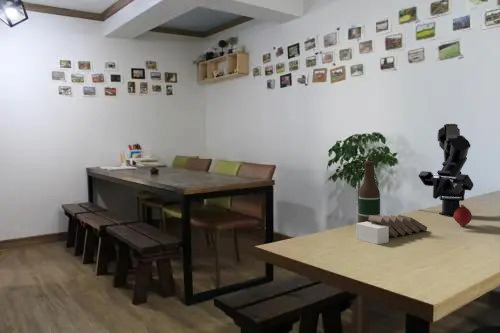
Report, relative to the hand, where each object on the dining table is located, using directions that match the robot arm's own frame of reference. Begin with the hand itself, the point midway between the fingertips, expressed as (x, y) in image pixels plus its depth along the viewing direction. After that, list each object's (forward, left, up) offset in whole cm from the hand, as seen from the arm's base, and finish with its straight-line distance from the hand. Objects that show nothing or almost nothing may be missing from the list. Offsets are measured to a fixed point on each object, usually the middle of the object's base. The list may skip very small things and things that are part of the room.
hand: (434, 198), depth 149 cm
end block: (+10, -30, -11) cm, 34 cm away
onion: (+2, +10, -11) cm, 15 cm away
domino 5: (+2, -7, -10) cm, 12 cm away
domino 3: (+5, -15, -10) cm, 18 cm away
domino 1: (+7, -22, -10) cm, 25 cm away
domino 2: (+6, -18, -10) cm, 21 cm away
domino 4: (+4, -11, -10) cm, 15 cm away
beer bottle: (-8, -21, -11) cm, 25 cm away
